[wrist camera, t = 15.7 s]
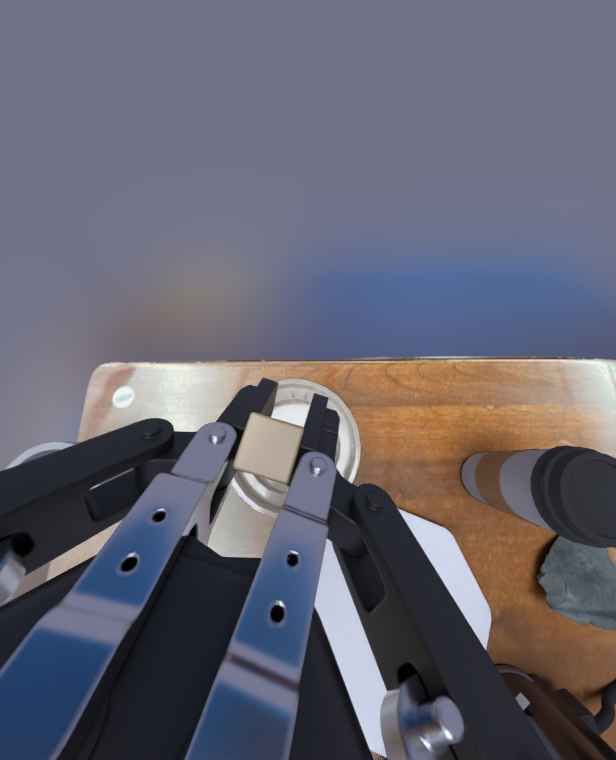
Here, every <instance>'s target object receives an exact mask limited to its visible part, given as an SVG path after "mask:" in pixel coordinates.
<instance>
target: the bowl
mask: <svg viewBox="0 0 616 760" xmlns="http://www.w3.org/2000/svg"><path fill="white" fill-rule="evenodd" d="M276 382H278V389H277V394H276V399H275V404H274V409H273V413H272V416H271V417H272V418H275V419H279V420H282V421H285V422H288V423H292V424H295V425H298V426H302V427H303V428H304V424H305V421H306V418H307V415H308V411H309V408H310V405H311V401H312V398H313V395H314V393H316V394H319V395H323V396H326V397H329V399H328V403H327V408H329V409H332V410H336V411H337V413H338V415H339V418H340V424H339V432H338V440H337V448H336V456H335V465H336V468H337V470H338V472H339V473H340V474H341V475H342V476H343V477H344V478H345V479H346V480H347V481H349V482H350V483H353V481H354V478H355V475H356V472H357V469H358V466H359V462H360V451H361V442H360V437H359V432H358V427H357V424H356V422H355V420H354V418H353V416H352V414H351V411H350V410H349V408H348V407H347V406H346V405H345V404H344V402H343V401H342V400H341V399H340V398H339V397H338V396H337V395H336V394H334V393H333V392H331V391H330V390H329V389H327V388H326V387H324V386H322V385H319V384H317V383H314V382H311V381H308V380H300V379H286V380H279V381H276ZM231 484H232V486H233V487H234V489H235V490H236V492H237V493H238V495H239V496H240V498H241V499H242V500H243V501H245V502H246V503H247V504H248V505H249V506H251V507H252V508H253V509H254V510H256V511H257V512H260V513H262V514H264V515H267V516H269V517H271V518H274V519H277V516H278V514H279V511H280V509H281V506H282V505H283V503H284V500H285V498H286V495H287V492H288V490H289V487H288V486H287V484H286V485H284V484H281V483H278V482H275V481H272V480H268V479H265V478H262V477H259V476H256V475H252V474H249V473H246V472H244V473H243V472H240V471H237V472H236V474H235V476H234V477H233V479H232V481H231Z"/></svg>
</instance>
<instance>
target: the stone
mask: <svg viewBox="0 0 616 760" xmlns="http://www.w3.org/2000/svg"><path fill="white" fill-rule="evenodd" d="M540 571H541V573H540V574H538V575H537V576H536V577H537V579H538V582H539V583H540V584H541V585H542V587H543V588H544V590H545V591H546V601H547V604H548V606H549V607H550V608H551V609H552V610H554V611H556V612H558V613H559V614H561V615H563V616H565V617H566V618H568V619H571V620H574V621H577V622H579V623H581V624H582V625H584V626H586V627H587V626H588V625H589V624H592V625H593V626H595V627H599V628H604V629H607V630H615V631H616V566H615V565H614V563H613V562H612V560H611V559H610V557H609V555H608V550H607V548H597V547H592V546H587V545H583V544H579V543H574V542H571V541H569V540H567V539H565V538H563V537H561V536H559V537H558V538H557V540H556V541H555V542H554V544H553V545H552V547H551V549H550V552H549V554H548V555H547V556H546V558H545V562H544V564H543V565H542V566H541V568H540Z"/></svg>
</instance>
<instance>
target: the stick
mask: <svg viewBox="0 0 616 760" xmlns="http://www.w3.org/2000/svg"><path fill="white" fill-rule="evenodd" d="M303 433H304V428H303V427H302V426H298V425H295V424H292V423H288V422H285V421H282V420H279V419H275V418H272V417H269V416H265V415H262V414H259V413H255V412H252V413H251V414H250V416H249V419H248V422H247V425H246V428H245V431H244V433H243V436H242V439H241V442H240V445H239V448H238V451H237V453H236V456H235V459H234V462H233V468H234V469H236V470H240V471H243V472H246V473H249V474H252V475H256V476H259V477H262V478H265V479H268V480H272V481H275V482H278V483H281V484H284V485H286V484H288V483H289V481H290V477H291V474H292V470H293V467H294V464H295V460H296V457H297V453H298V450H299V447H300V443H301V440H302V436H303Z"/></svg>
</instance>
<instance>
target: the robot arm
mask: <svg viewBox="0 0 616 760" xmlns="http://www.w3.org/2000/svg"><path fill="white" fill-rule="evenodd" d="M277 389H278V382H276V381H272V380H269V379H265V378H263V379H262V380H261V382H260V383H259V385H258V386H257V387H255V386H252V385H248V386H246V387H244V388H242V389H241V390H240V391H239V392H238V394H237V395H236V397H235V398H234V399H233V400H232V402H231V403H230V404H229V405H228V407H227V408H226V409H225V411H224V412H223V413H222V414H221V416H220V417H219V418H218V420H217V421H216V422H213V423H209V424H206V425H204V426H203V427H201V428H200V429H199V431H198V432H177V431H174V429H173V425H172V424H171V423H170V422H169V421H167V420H164V419H159V418H151V419H145V420H142V421H139V422H137V423H134V424H131V425H128V426H125V427H123V428H120V429H117V430H114V431H112V432H109V433H106V434H103V435H100V436H98V437H95V438H92V439H89V440H87V441H84V442H81V443H78V444H75V445H73V446H70V447H67V448H64V449H62V450H59V451H56V452H53V453H50V454H48V455H45V456H42V457H39V458H37V459H34V460H31V461H28V462H25V463H23V464H20V465H17V466H14V467H11V468H9V469H6V470H3V471H0V760H373V757H372V754H371V752H370V749H369V746H368V744H367V741H366V738H365V736H364V733H363V730H362V728H361V725H360V722H359V720H358V717H357V714H356V712H355V709H354V706H353V704H352V701H351V698H350V696H349V693H348V690H347V688H346V685H345V682H344V680H343V677H342V674H341V672H340V669H339V666H338V664H337V661H336V658H335V656H334V653H333V650H332V648H331V645H330V642H329V640H328V637H327V634H326V632H325V629H324V626H323V624H322V621H321V619H320V616H319V614H318V612H317V610H316V608H315V606H314V604H315V598H316V593H317V588H318V582H319V577H320V572H321V566H322V561H323V556H324V551H325V545H326V540H327V539H328V540H330V541H331V542H332V546H333V549H334V552H335V555H336V557H337V560H338V563H339V565H340V568H341V571H342V573H343V576H344V579H345V581H346V584H347V587H348V589H349V592H350V595H351V597H352V600H353V603H354V605H355V608H356V610H357V613H358V616H359V618H360V621H361V624H362V626H363V629H364V632H365V634H366V637H367V640H368V642H369V645H370V648H371V650H372V653H373V656H374V658H375V661H376V664H377V666H378V669H379V672H380V674H381V677H382V680H383V682H384V685H385V688H386V690H387V693H386V694H385V696H384V698H383V701H382V705H381V711H380V727H381V734H382V738H383V742H384V746H385V750H386V755H387V760H616V752H615V751H614V750H613V749H612V748H611V747H610V746H609V745H608V744H607V743H606V742H605V741H604V740H603V739H602V738H601V737H600V734H602V733H603V732H604V731H605V730H607V729H608V728H609V727H610V725H611V724H612V722H613V720H614V717H615V709H614V704H615V703H616V681H614V682H613V683H612V684H611V685H610V686H609V687H608V688H607V689H606V690H605V691H604V692H603V694H602V698H601V703H602V708H601V710H600V711H599V712H598V713H597V714H596V715H595V716H593V714H592V713H591V712H590V711H589V710H588V709H587V708H586V707H585V706H583V705H582V704H581V703H580V702H579V701H578V700H577V699H576V698H575V697H574V696H573V695H571V694H570V693H569V692H568V691H567V690H566V689H565V688H564V689H559V690H555V691H553V690H552V689H551V688H550V687H549V686H547V685H546V684H545V683H544V682H543V681H542V680H541V679H540V678H539V677H538V676H537V675H536V674H534V675H527V674H526V673H524V672H523V671H521V670H520V669H517V668H515V667H512V666H508V665H496V666H495V664H494V663H493V661H492V660H491V658H490V656H489V655H488V653H487V652H486V650H485V648H484V647H483V645H482V644H481V642H480V640H479V639H478V637H477V636H476V634H475V632H474V631H473V629H472V627H471V626H470V624H469V623H468V621H467V619H466V618H465V616H464V615H463V613H462V611H461V610H460V608H459V607H458V605H457V603H456V602H455V600H454V599H453V597H452V595H451V594H450V592H449V591H448V589H447V587H446V586H445V584H444V582H443V581H442V579H441V578H440V576H439V574H438V573H437V571H436V570H435V568H434V566H433V565H432V563H431V562H430V560H429V558H428V557H427V555H426V554H425V552H424V550H423V549H422V547H421V545H420V544H419V542H418V541H417V539H416V537H415V536H414V534H413V533H412V531H411V529H410V528H409V526H408V525H407V523H406V521H405V520H404V518H403V517H402V515H401V513H400V512H399V510H398V509H397V507H396V505H395V504H394V502H393V500H392V499H391V497H390V496H389V495H388V494H387V493H386V492H385V491H384V490H383V489H381V488H380V487H378V486H376V485H372V484H363V485H360V486H359V487H357V486H355V485H354V484H352V483H350V482H349V481H347V480H346V479H345V478H344V477H343V476H342V475H341V474H340V473H339V472H338V470H337V468H336V465H335V456H336V448H337V440H338V432H339V424H340V418H339V415H338V413H337V411H336V410H332V409H329V408H327V403H328V399H329V397H326V396H323V395H319V394H316V393H314V395H313V398H312V401H311V405H310V408H309V411H308V415H307V418H306V421H305V424H304V433H303V436H302V440H301V443H300V447H299V450H298V453H297V457H296V460H295V464H294V467H293V470H292V474H291V477H290V481H289V483H288V484H287V486H288V487H289V490H288V492H287V495H286V498H285V500H284V503H283V505H282V506H281V509H280V511H279V514H278V516H277V519H276V522H275V524H274V527H273V530H272V532H271V535H270V538H269V540H268V543H267V546H266V548H265V551H264V553H263V556H262V559H261V558H236V557H222V556H220V555H218V554H217V553H216V552H214V551H213V550H211V549H210V548H209V547H207V544H208V541H209V537H210V534H211V531H212V528H213V526H214V523H215V521H216V519H217V516H218V514H219V512H220V509H221V507H222V505H223V503H224V500H225V498H226V496H227V493H228V491H229V489H230V486H231V481H232V479H233V477H234V476H235V474H236V472H237V471H240V470H236V469H234V468H233V462H234V459H235V456H236V453H237V451H238V448H239V445H240V442H241V439H242V436H243V433H244V431H245V428H246V425H247V422H248V419H249V416H250V414H251V413H252V412H255V413H259V414H262V415H265V416H269V417H271V416H272V413H273V409H274V404H275V399H276V394H277ZM132 468H133V470H131V471H129V472H127V473H125V474H123V475H121V476H118V477H116V478H114V479H112V480H110V481H108V482H106V483H104V484H101V485H99V486H97V487H95V488H93V489H91V488H92V487H94V486H96V485H98V484H100V483H102V482H104V481H106V480H108V479H111V478H113V477H115V476H117V475H119V474H121V473H123V472H125V471H128V470H130V469H132ZM240 472H243V471H240ZM243 473H244V472H243ZM90 489H91V490H90ZM122 519H123V521H122V522H121V523H120V525H119V526H118V527H117V529H116V530H115V531H114V533H113V534H112V535H111V537H110V538H109V539H108V541H107V542H106V543H105V545H104V546H103V547H102V549H101V550H100V551H99V553H98V554H97V555H95V556H93V557H91V558H90V559H88V560H86V561H84V562H82V563H80V564H78V565H77V566H75V567H73V568H71V569H69V570H67V571H65V572H64V573H62V574H60V575H58V576H56V577H54V578H52V579H51V580H49V581H47V582H45V583H43V584H41V585H40V586H38V587H36V588H34V589H32V590H30V591H29V592H26V593H25V594H23V595H21V596H19V597H17V598H15V599H13V600H12V601H10V600H11V598H12V597H13V595H14V592H15V590H16V588H17V587H18V586H19V584H20V583H21V581H22V580H23V577H24V576H25V575H27V574H29V573H30V572H32V571H34V570H36V569H37V568H39V567H41V566H43V565H44V564H46V563H48V562H49V561H51V560H53V559H55V558H56V557H58V556H60V555H62V554H63V553H65V552H67V551H68V550H70V549H72V548H74V547H75V546H77V545H79V544H81V543H82V542H84V541H86V540H87V539H89V538H91V537H93V536H94V535H96V534H98V533H100V532H101V531H103V530H105V529H106V528H108V527H110V526H112V525H113V524H115V523H117V522H119V521H120V520H122ZM9 601H10V602H9Z"/></svg>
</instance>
